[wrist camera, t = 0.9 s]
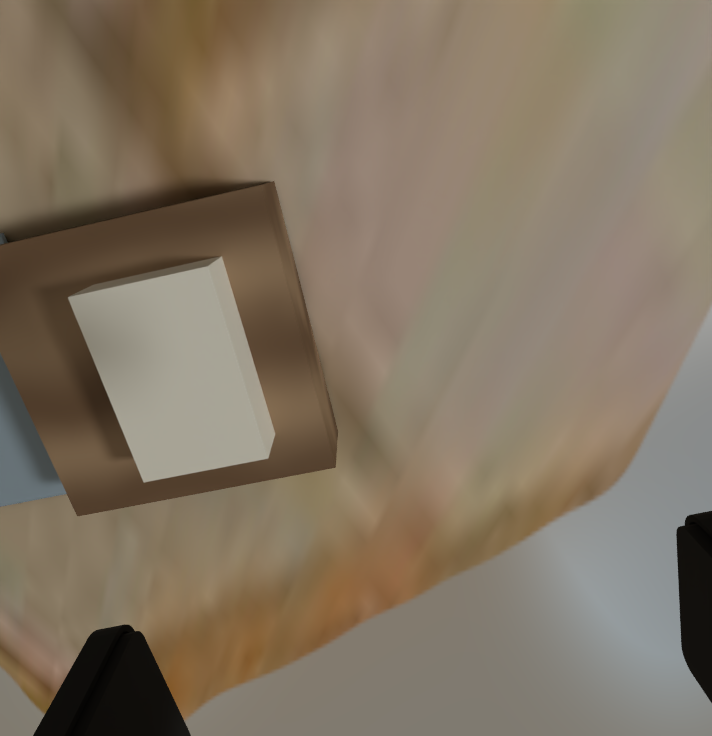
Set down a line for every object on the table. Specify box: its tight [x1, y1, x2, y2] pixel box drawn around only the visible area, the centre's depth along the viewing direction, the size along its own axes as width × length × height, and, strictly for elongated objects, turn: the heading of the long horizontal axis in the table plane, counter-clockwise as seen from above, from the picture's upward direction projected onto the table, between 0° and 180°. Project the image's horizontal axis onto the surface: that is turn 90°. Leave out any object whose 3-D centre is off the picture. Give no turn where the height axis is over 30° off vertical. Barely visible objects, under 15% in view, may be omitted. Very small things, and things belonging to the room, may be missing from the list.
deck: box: [0, 181, 338, 516], centre depth 28 cm, size 14×14×4 cm
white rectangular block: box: [68, 256, 275, 482], centre depth 25 cm, size 9×6×2 cm, turn 12°
